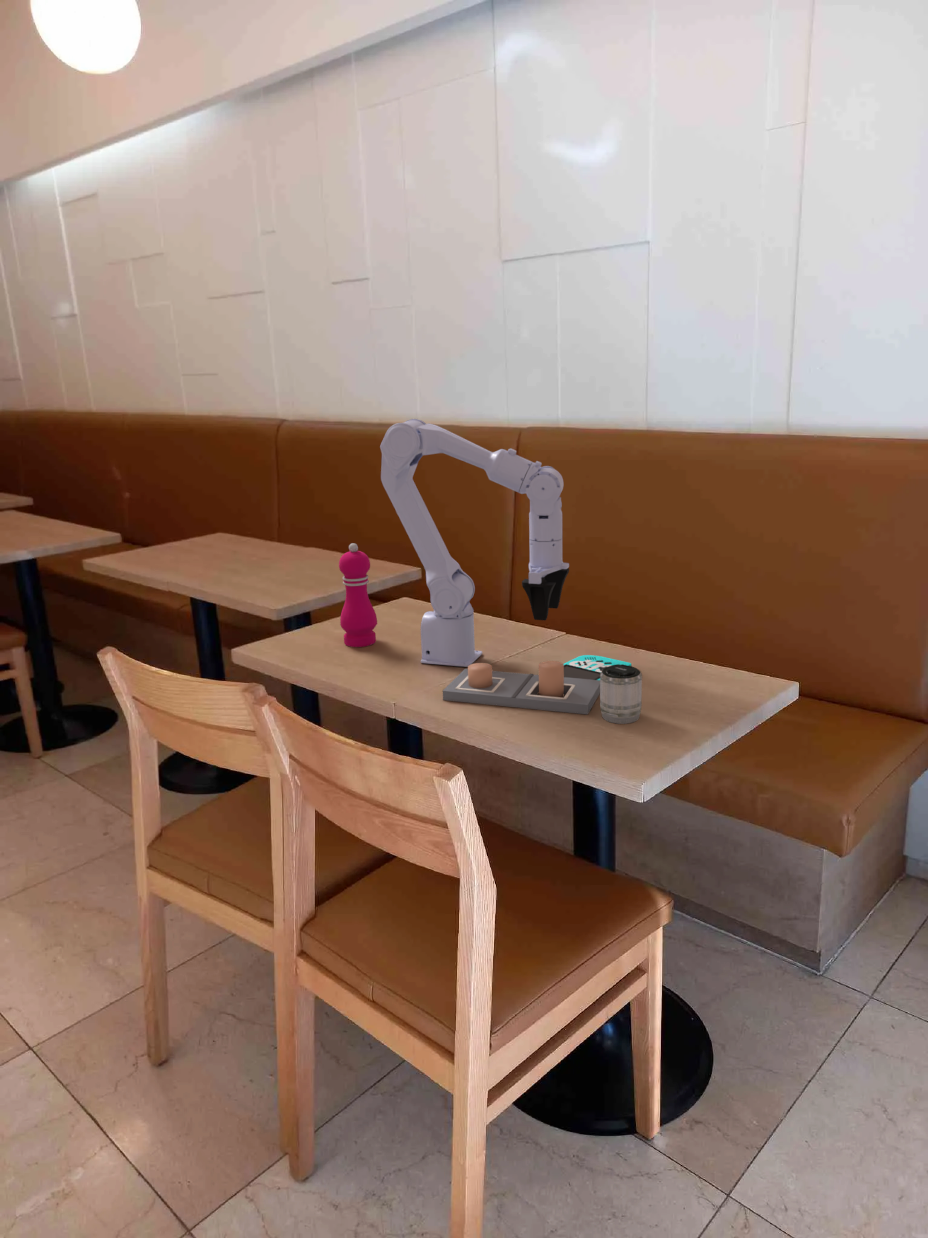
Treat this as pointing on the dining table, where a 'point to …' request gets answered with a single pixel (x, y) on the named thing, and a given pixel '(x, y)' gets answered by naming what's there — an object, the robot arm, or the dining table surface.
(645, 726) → the dining table surface
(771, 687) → the dining table surface
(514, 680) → the board
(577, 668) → the handheld game console
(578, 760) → the dining table surface
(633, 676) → the camera lens
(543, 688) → the terracotta pin
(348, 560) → the pepper mill
